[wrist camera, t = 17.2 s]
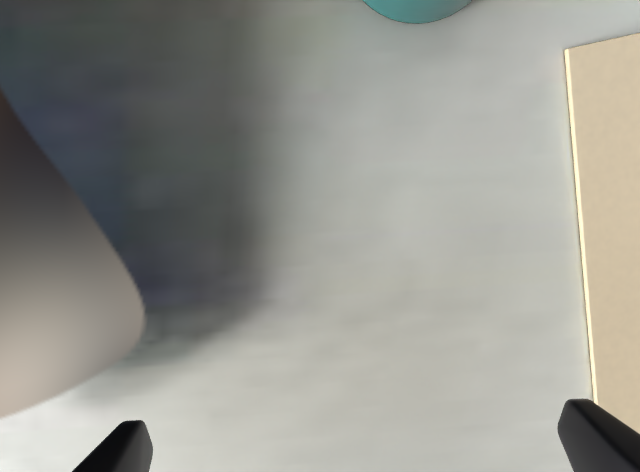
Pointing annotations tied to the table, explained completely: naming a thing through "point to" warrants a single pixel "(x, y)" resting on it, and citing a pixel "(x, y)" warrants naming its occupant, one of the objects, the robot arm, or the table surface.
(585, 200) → the cloth
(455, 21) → the table surface
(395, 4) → the flask
